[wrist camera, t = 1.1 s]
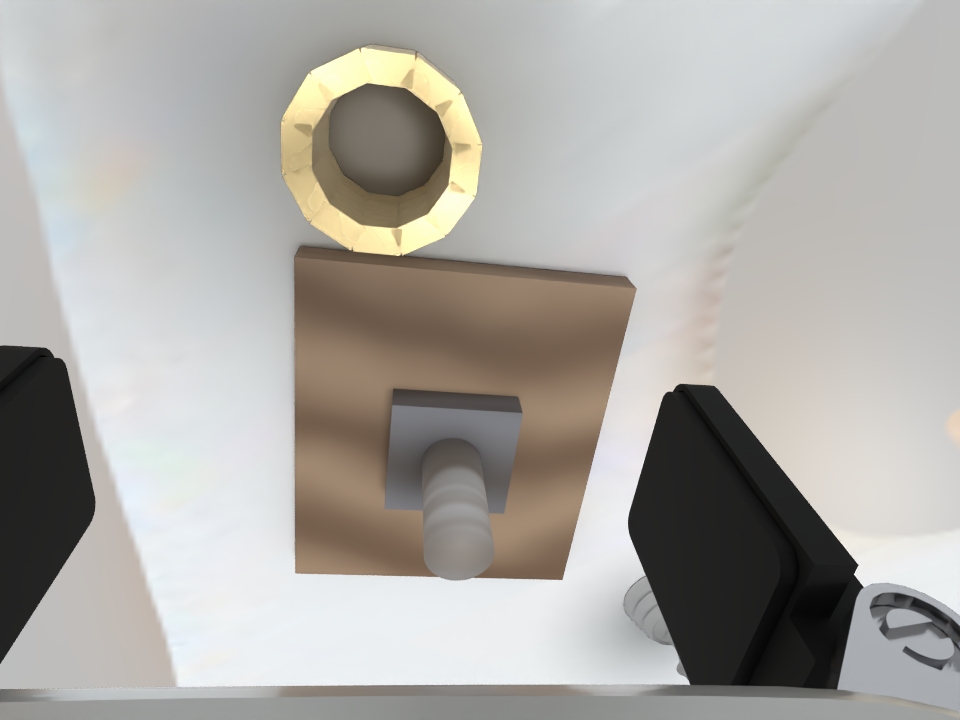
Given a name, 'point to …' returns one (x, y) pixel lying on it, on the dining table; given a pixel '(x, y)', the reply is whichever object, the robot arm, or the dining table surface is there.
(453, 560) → the shaft stand
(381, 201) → the ring
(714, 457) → the robot arm
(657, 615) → the chalice
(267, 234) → the dining table surface
